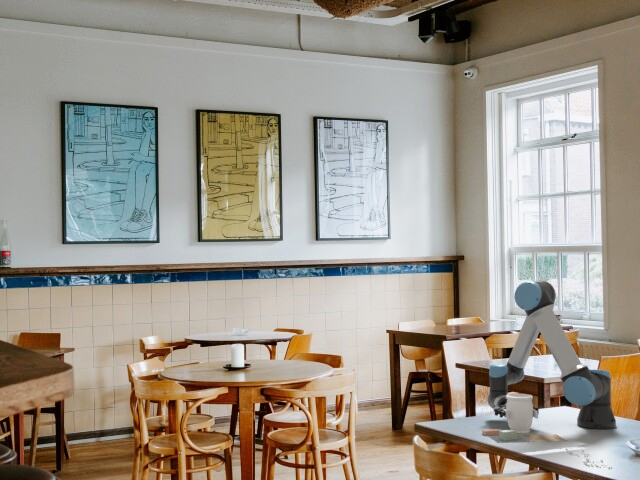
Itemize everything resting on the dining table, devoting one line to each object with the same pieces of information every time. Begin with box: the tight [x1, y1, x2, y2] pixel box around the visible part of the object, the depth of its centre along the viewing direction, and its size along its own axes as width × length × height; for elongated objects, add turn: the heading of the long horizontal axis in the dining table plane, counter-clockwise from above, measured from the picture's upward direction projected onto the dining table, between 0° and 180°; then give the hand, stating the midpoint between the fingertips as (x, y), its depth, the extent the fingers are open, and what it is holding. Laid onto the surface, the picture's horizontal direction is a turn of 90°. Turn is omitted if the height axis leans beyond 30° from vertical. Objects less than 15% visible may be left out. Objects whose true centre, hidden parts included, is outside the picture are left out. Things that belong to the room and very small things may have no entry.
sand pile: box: [522, 433, 568, 443], centre depth 307 cm, size 13×12×1 cm
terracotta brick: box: [481, 428, 501, 436], centre depth 314 cm, size 6×3×3 cm, turn 101°
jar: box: [506, 393, 534, 434], centre depth 321 cm, size 11×10×15 cm
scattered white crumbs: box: [565, 448, 613, 470], centre depth 277 cm, size 7×25×2 cm, turn 1°
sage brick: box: [498, 429, 518, 440], centre depth 306 cm, size 6×3×3 cm, turn 114°
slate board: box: [488, 434, 530, 444], centre depth 306 cm, size 12×12×1 cm
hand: (523, 415), depth 317 cm, fingers closed on jar, 10 cm apart
